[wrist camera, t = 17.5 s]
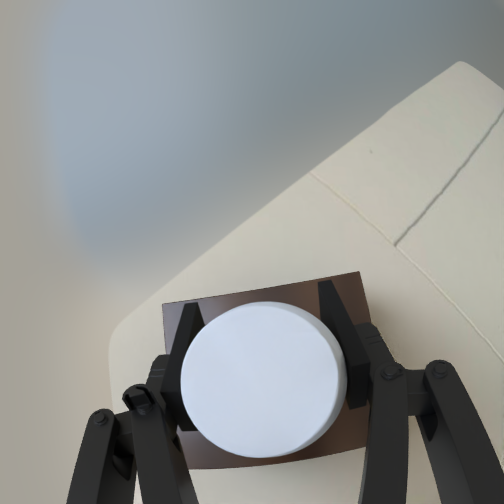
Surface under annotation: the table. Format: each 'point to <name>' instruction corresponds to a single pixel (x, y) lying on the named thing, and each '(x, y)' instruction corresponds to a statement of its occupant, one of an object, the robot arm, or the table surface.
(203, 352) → the pill bottle
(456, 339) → the table surface
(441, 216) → the table surface
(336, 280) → the wooden block
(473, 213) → the table surface
